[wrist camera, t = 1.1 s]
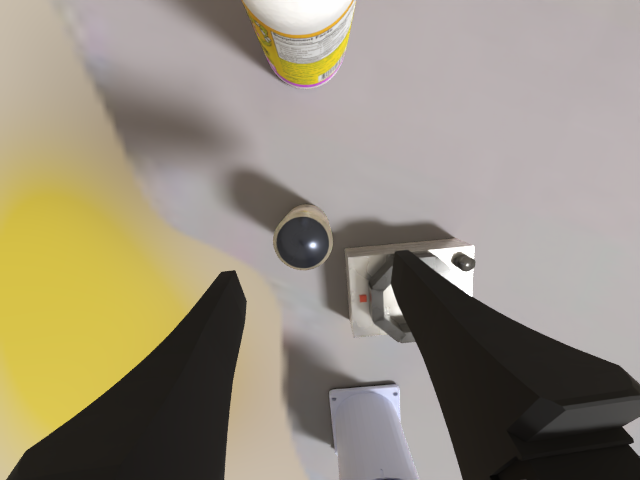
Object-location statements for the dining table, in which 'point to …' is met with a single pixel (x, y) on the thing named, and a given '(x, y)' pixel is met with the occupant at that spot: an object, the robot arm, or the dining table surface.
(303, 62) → the supplement bottle
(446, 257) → the white knob box
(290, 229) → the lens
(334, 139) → the dining table surface
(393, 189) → the dining table surface
